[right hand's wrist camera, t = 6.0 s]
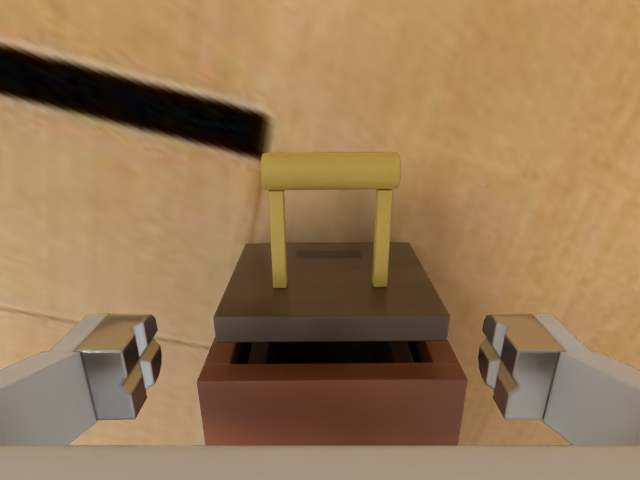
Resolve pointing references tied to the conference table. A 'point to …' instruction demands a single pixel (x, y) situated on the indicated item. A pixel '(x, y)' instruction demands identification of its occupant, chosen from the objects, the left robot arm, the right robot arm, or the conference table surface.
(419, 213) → the conference table surface
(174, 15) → the conference table surface
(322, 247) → the drawer
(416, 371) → the cabinet
